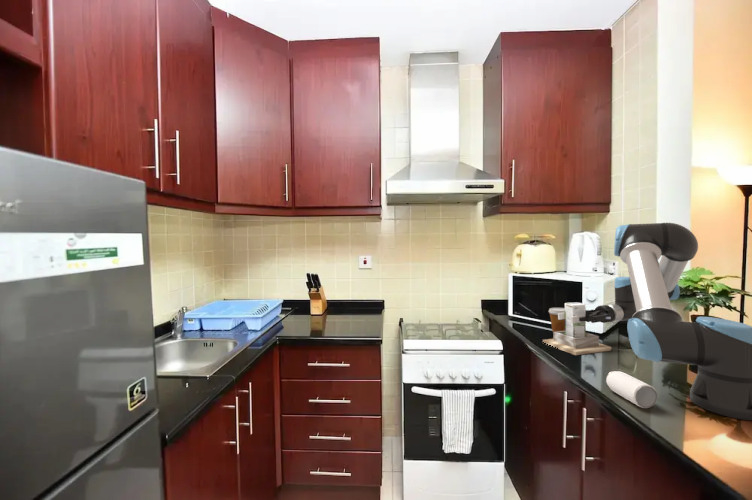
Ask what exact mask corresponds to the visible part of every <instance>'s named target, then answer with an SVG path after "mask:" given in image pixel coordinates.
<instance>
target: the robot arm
mask: <svg viewBox="0 0 752 500" xmlns="http://www.w3.org/2000/svg"><path fill="white" fill-rule="evenodd" d="M614 236H615V237H614V245H613V246H614V249H613V250H614V251H613V254H614V256H615V257H618V258H619V257H620V260H621V261H622V262H623V263H625V264H626V266H627V267H626V268H627V271H628V275H629V276H617V277H615V278H614V303H613V304H602V305H598V306H596V307H595V309H590V310H589V309H586V308H585V313H586V317H585V315H580V316H571V323H579V322H585V321H586V322H587V323H592V324H595V323H603V324H606V323H614V324H615V322H622V321H627V327H626V329H627V334H628V339H629V340H628V342H629V343H630V347H631V349H632V351H633V353H634V354H635V355H636V357H637V358H639V359H642V360H645V361H653V362H656V363H659V362H662V363H671V364H672V363H673V364H682V365H688V366H689V365H690V366H697V374H696V376H695V378H694V381H693V384H692V385H691V388H690V390H689V399H690V401H691V402H692V404H694V405H695V406H697V407H699V408H701V409H703V410H705V411H709V412H711V413H714V414H717V415H721V416H725V417H729V418H733V419H738V420H745V421H752V325H749V324H748V323H747V324H746V323H743V322H739V321H735V320H730V319H725V318H724V319H723V318H720V317H718V318H717V317H711V316H697V317H696V319H695V321H694V322H692V321H684V320H683V319H682V315H681V314H680V313H679V312H678V311H676V310H674V309H673V307H672V305H671V301H670V300H678V299H679V298H680V294H681V291H680V286H679V283H678V281H679V280H680V278H681V276H682V273H683V272H684V270H685V268H686V266H687V264H688V262H689V261H691V260H692V259H694V258H695V256H696V254H697V252H698V250H699V243H698V242H699V241H698V239H697V237H696V235H695V234H694V233H693V232H692V231H691V230H690V229H689V228H687V227H685V226H683V225H681V224H679V223H674V222H661V223H635V224H634V223H633V224H632V223H628V224H621V225H619V226H617V227H616V228H615V235H614ZM659 259H660V260H659ZM558 319H559V320H561V319H565V313H558Z"/></svg>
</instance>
